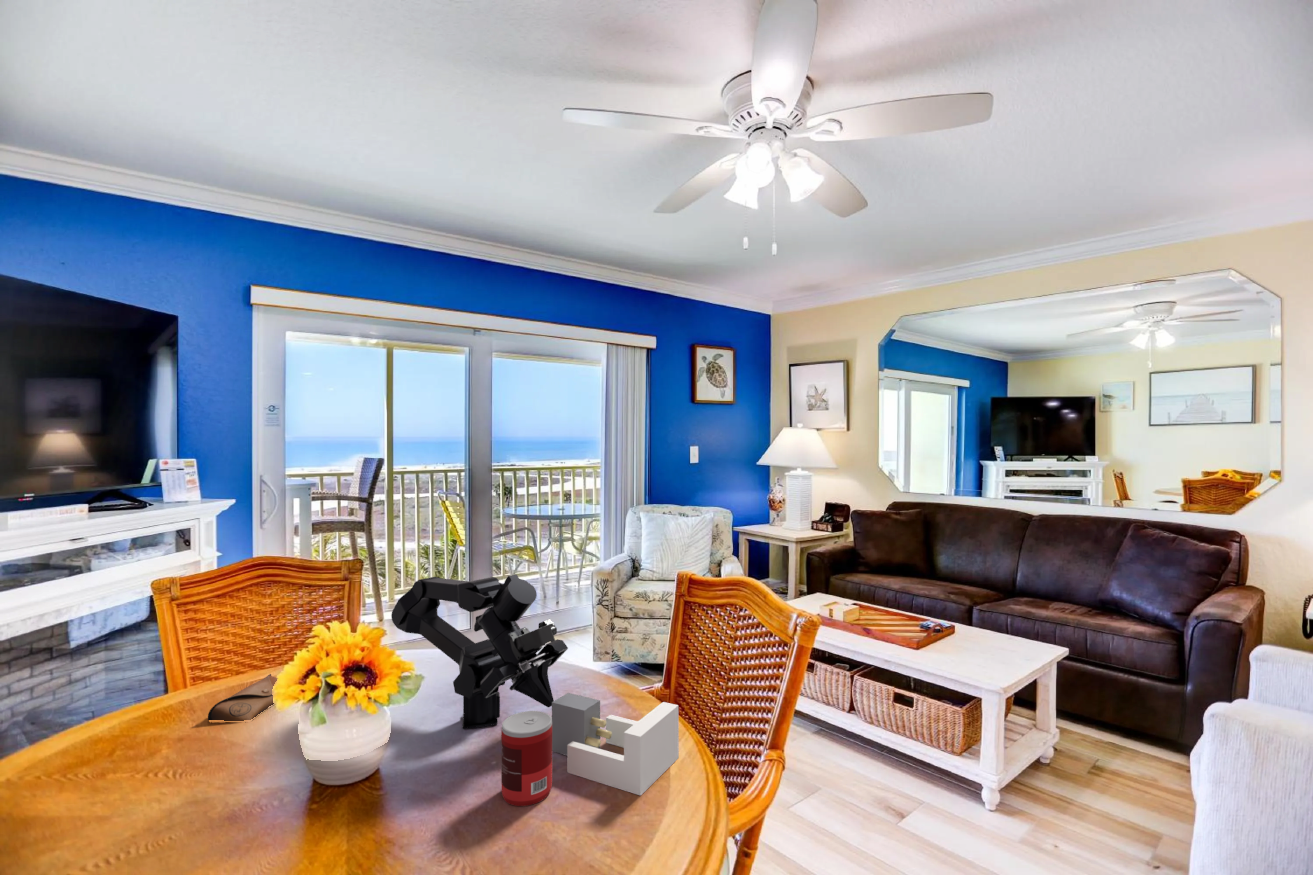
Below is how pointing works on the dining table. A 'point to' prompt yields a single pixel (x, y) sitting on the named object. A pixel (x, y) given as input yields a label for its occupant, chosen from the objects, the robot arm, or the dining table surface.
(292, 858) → the dining table surface
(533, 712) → the canned food
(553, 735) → the plug
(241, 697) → the sunglasses case
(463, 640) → the robot arm
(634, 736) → the socket
